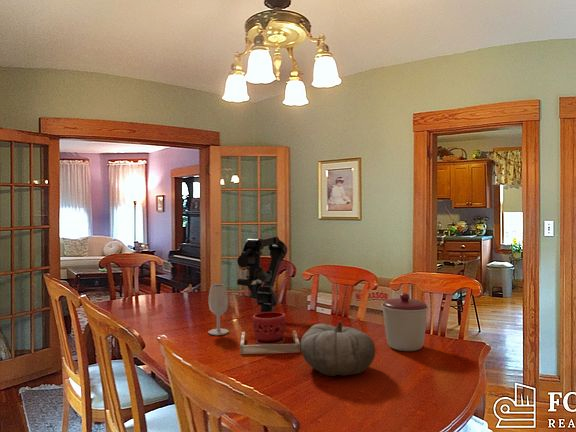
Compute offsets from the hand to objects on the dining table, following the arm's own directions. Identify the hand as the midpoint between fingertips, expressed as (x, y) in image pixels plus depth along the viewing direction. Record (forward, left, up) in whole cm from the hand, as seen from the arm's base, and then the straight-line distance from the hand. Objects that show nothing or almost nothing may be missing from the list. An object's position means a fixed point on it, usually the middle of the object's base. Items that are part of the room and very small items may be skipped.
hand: (254, 297), depth 209 cm
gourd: (+31, +62, -12) cm, 70 cm away
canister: (-5, +72, -12) cm, 73 cm away
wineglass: (+22, -2, -12) cm, 25 cm away
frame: (+22, +27, -12) cm, 37 cm away
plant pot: (+22, +26, -12) cm, 36 cm away
